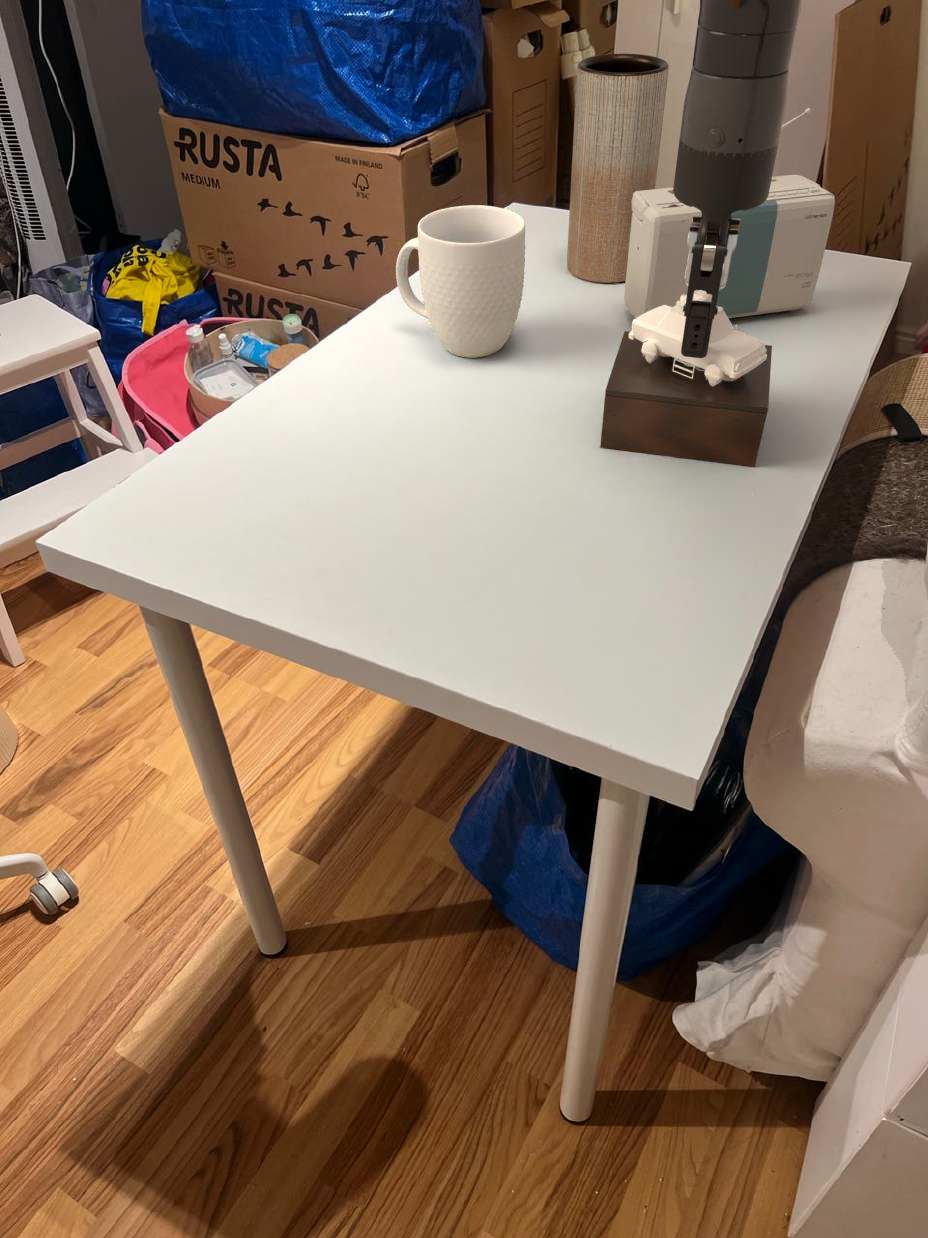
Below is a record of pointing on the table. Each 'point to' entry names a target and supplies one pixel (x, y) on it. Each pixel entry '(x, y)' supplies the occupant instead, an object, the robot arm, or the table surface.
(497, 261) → the mug
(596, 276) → the planter
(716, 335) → the toy car
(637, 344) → the stand
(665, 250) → the radio
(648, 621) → the table surface
